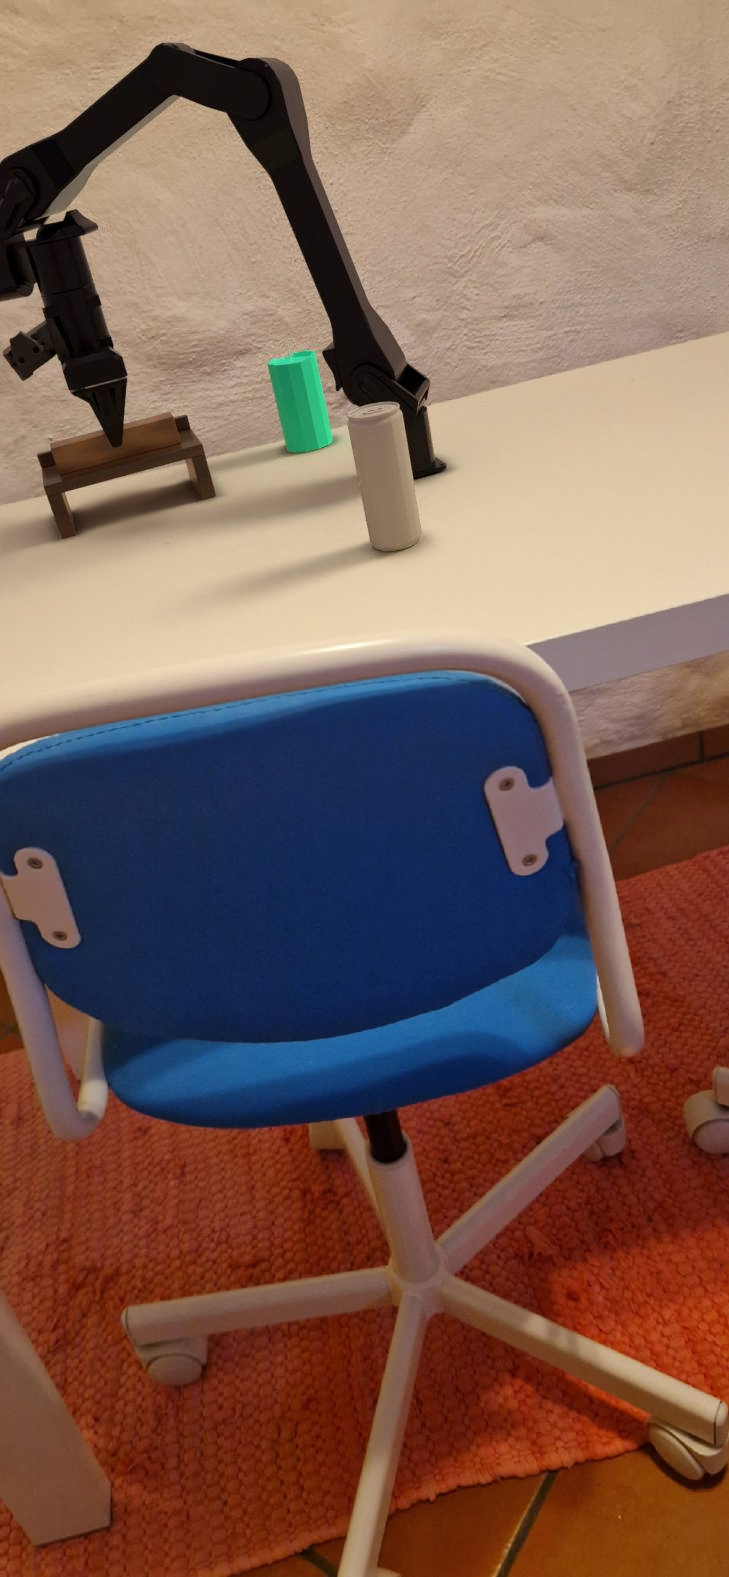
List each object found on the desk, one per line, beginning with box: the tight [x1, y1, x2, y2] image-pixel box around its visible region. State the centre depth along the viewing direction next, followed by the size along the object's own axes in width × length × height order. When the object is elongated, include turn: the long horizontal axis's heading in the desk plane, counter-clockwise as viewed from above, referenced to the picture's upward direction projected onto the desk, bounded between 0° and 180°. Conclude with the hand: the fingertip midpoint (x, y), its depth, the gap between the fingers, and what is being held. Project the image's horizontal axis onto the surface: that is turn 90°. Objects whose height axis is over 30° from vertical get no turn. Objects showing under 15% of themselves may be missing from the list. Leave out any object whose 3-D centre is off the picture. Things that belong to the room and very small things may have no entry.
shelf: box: [36, 413, 217, 539], centre depth 122 cm, size 10×18×8 cm, turn 106°
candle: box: [267, 343, 334, 454], centre depth 129 cm, size 6×6×12 cm
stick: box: [49, 411, 181, 475], centre depth 120 cm, size 14×3×3 cm, turn 106°
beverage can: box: [346, 402, 423, 552], centre depth 94 cm, size 5×5×12 cm
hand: (114, 438), depth 119 cm, fingers open, 9 cm apart
